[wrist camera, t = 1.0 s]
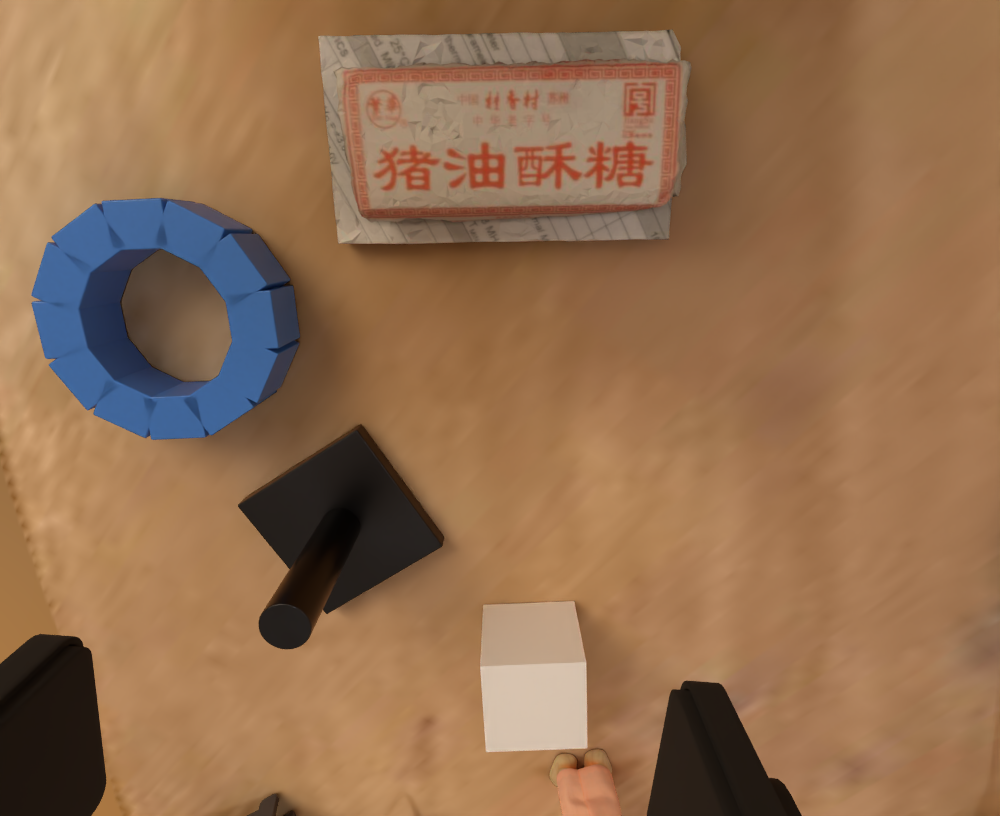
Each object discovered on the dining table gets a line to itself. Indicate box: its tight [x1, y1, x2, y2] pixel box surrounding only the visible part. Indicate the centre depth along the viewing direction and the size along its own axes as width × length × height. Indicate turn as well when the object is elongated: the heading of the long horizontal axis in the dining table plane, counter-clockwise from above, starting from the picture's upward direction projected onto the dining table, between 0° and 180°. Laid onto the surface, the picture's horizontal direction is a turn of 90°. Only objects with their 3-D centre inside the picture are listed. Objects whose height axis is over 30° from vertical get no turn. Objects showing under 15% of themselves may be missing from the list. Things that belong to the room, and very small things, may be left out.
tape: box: [32, 198, 300, 440], centre depth 33 cm, size 12×12×4 cm
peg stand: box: [238, 425, 444, 649], centre depth 33 cm, size 9×9×11 cm
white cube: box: [480, 601, 587, 752], centre depth 38 cm, size 6×6×6 cm
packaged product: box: [318, 30, 691, 244], centre depth 30 cm, size 18×5×10 cm
